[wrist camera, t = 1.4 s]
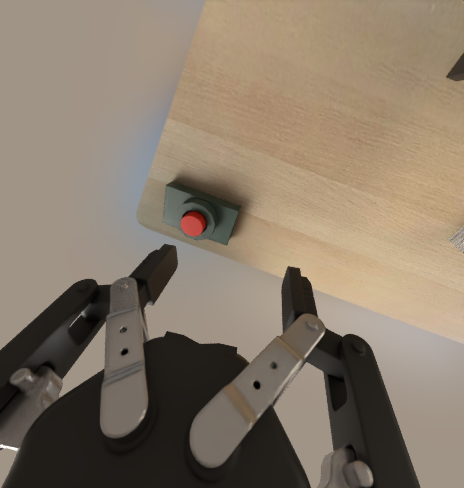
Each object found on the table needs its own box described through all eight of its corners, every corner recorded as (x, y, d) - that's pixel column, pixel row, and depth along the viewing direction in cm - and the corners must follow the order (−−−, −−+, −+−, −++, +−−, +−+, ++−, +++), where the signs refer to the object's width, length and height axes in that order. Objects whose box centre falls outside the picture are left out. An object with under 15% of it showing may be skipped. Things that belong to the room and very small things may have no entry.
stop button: (183, 226, 32) (178, 231, 30) (186, 207, 30) (181, 212, 28) (203, 234, 32) (200, 239, 30) (208, 215, 30) (204, 220, 28)
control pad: (168, 217, 36) (157, 227, 32) (172, 181, 31) (160, 188, 28) (229, 239, 36) (224, 251, 32) (240, 206, 32) (236, 216, 28)
